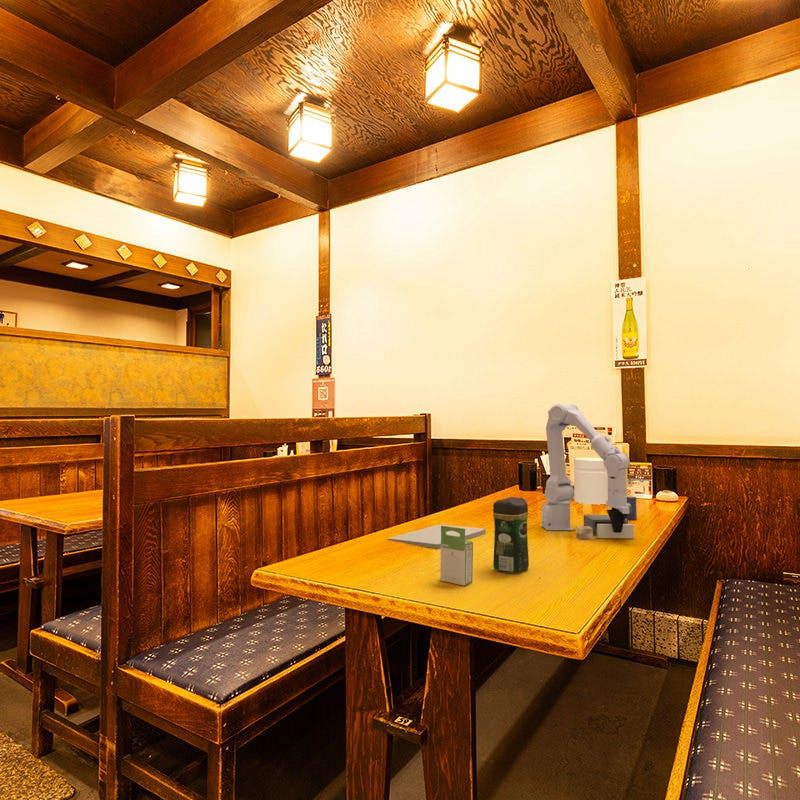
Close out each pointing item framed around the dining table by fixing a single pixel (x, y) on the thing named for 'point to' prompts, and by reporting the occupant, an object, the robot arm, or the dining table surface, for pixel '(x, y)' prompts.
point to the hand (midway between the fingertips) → (617, 532)
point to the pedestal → (584, 533)
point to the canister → (590, 481)
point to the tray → (607, 532)
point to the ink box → (456, 557)
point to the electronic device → (434, 536)
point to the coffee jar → (510, 535)
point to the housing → (597, 521)
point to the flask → (632, 508)
